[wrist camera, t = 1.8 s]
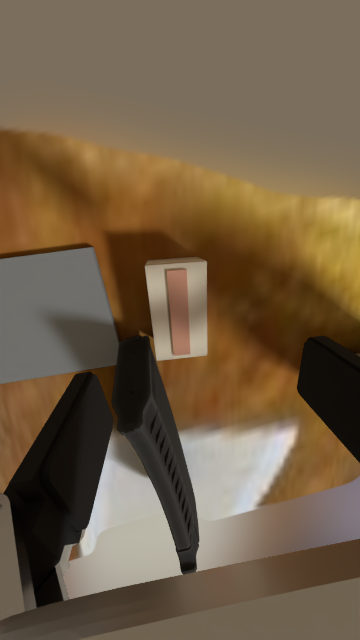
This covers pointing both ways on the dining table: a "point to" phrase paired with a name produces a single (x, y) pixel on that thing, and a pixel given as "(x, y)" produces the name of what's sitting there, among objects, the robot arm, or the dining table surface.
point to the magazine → (156, 441)
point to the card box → (178, 306)
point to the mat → (54, 316)
